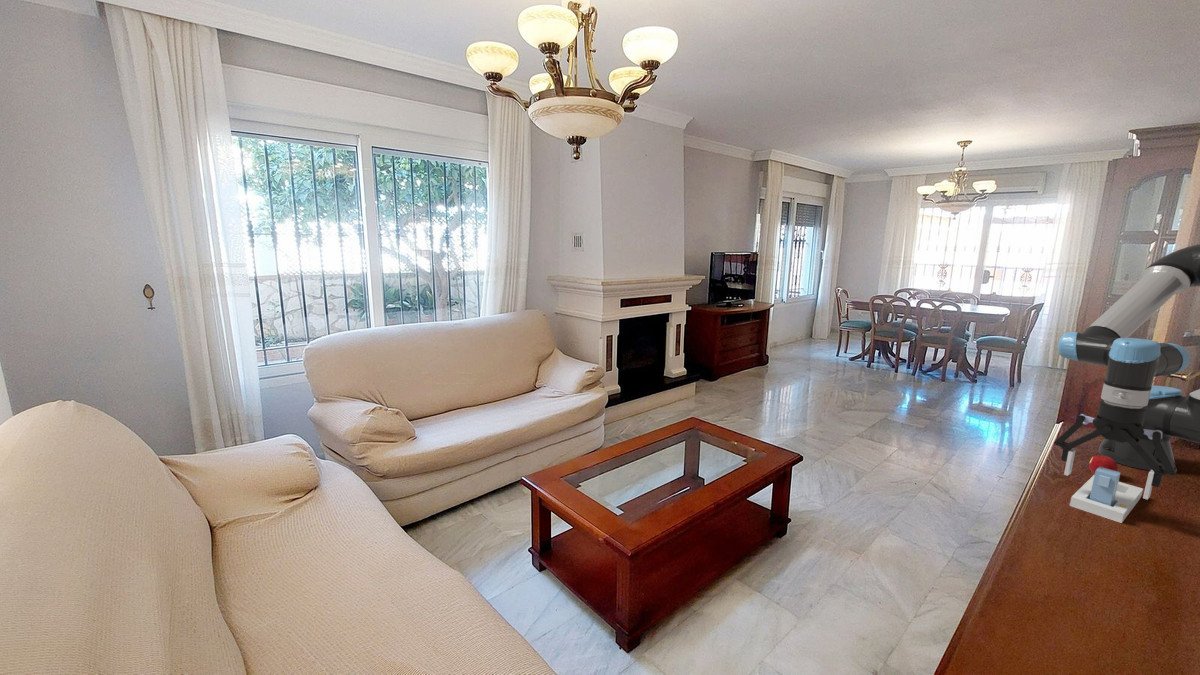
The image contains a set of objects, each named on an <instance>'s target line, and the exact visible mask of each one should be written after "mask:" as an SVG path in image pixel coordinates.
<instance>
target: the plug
mask: <svg viewBox="0 0 1200 675" xmlns="http://www.w3.org/2000/svg"><path fill="white" fill-rule="evenodd" d="M1094 475H1095V476H1094V480H1093V485H1092V490H1091V494H1090V500H1093V501H1096V502H1099V503H1102V504H1106V505H1109V506H1112V507H1113V504H1114V499H1115V495H1116V490H1117V486H1118V482H1120V476H1121V471H1118V470H1117V471H1114V470H1111V469H1107V468H1103V467H1099V468H1098V469H1097V470H1096V471H1095V474H1094Z"/></svg>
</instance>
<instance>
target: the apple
mask: <svg viewBox="0 0 1200 675" xmlns="http://www.w3.org/2000/svg"><path fill="white" fill-rule="evenodd" d="M1099 467H1103V468H1107V469H1111V470H1114V471H1118V470H1119V469H1118V463H1117V462H1115V461H1114V460H1113V459H1112V458H1110V457H1107V456H1103V455H1100V454H1098V455H1093V456H1091V459H1090V460H1089V463H1088V469H1089V470H1090V472H1091V474H1093V475H1095V471H1096V470H1097V469H1098V468H1099Z"/></svg>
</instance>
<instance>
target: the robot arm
mask: <svg viewBox="0 0 1200 675" xmlns="http://www.w3.org/2000/svg"><path fill="white" fill-rule="evenodd" d="M1192 287H1193V288H1195V287H1197V288H1198V287H1200V243H1198V244H1195V245H1194V244H1193V245H1191V246H1190V245H1189V246H1187V247H1183V248H1180V249H1178V250H1176V251H1173V252H1170V253H1168V254H1166V255H1164V256H1162V257H1161V258H1159V259H1156V260H1155V261H1153V262H1152V263H1151V264H1149V265H1148V266H1147V267H1146V268H1145V269H1144V270H1143V271H1142V272H1141V273H1140V276H1139V280H1138V281H1137V282H1135V284H1134V285H1133V286H1132V287H1131V288H1129V289H1128V291H1126V292H1125V293H1124V294H1123V295H1122V296H1121V297H1120V298H1118V300H1117V301H1115V303H1113V304H1112V305H1111V306H1110V307H1108V309H1107V310H1105V311H1104V313H1102V314H1101V315H1100V316H1099V317H1098V318H1097V319H1096V320H1095V321H1094V322H1093V323H1091V324H1090V325H1089V326H1088V327H1087V328H1086V329H1084V330H1083V331H1082V332H1080V331H1068V332H1066V333H1064V334H1062V336H1060V338H1059V340H1058V342H1057V350H1058V354H1059V355H1060V357H1061V358H1064V359H1067V360H1072V361H1075V362H1078V363H1086V364H1091V365H1098V366H1104V367H1106V372H1105V376H1104V377H1105V378H1104V381H1103V384H1102V390H1101V395H1100V398H1101V399H1102V400H1100V401H1099V404H1098V409H1097V414H1096V416H1095V417H1092V416H1089V415H1087V414H1086V413H1080V414H1079V415H1077V418H1076V420H1075V423H1074V424H1073V425H1072V426H1071V427H1069V428H1068V429H1066V431H1065V432H1063V434H1062V435H1061V436H1059V437H1058V438H1057V439H1056V440H1055V441H1054V442H1053V443H1054V445H1055V446H1058V447H1060V448H1061V449H1062V454H1061V457H1060V458H1061V461H1063V462H1066V463H1065V468H1064V471H1063V472H1064V473H1063V476H1068V477H1069V475H1071V474H1072V471H1073V465H1074V461H1075V456H1076V455H1075V454H1076V451H1077V450H1076V449H1075V448H1076V447H1078V446H1081V445H1082V444H1084V443H1086V442H1087V443H1088V442H1089V441H1091V440H1094V439H1096V438H1098V437H1100V436H1101V437H1103V440H1102V442H1101V443H1100V444H1099V447H1098V453H1099V454H1098V455H1103V456H1107V457H1110V458H1112V459H1113V460H1114V461H1115V462H1116V463H1117V464H1121V465H1124V466H1127V467H1132V468H1134V469H1140V470H1146V471H1149V472H1148V474H1147V479H1146V483H1145V486H1144V487H1145V488H1144V490H1143V494H1142V499H1145V500H1147V501H1148V500H1149V498H1150V497H1151V494H1152V490H1153V487H1156V488H1159V487H1160V486H1161V483H1162V480H1163V478H1164V475H1169V476H1174V475H1175V474H1176V473H1177V472H1178V469H1177V467H1176V464H1175V463H1176V461H1175V458H1174V453H1173V450H1172V446H1171V439H1172V437H1174V438H1179V439H1182V440H1186V441H1188V442H1193V443H1197V444H1200V388H1199V389H1196V390H1194V391H1192V392H1190V393H1189V394H1188V395H1189V396H1188V397H1187V396H1183V394H1184V393H1183V391H1182V389H1180V388H1176V387H1171V386H1163V385H1153V384H1154V379H1155V377H1162V376H1172V375H1174V374H1176V373H1179V372H1182V371H1184V370H1186V369H1187V368H1188V366H1189V365H1190V364H1191V355H1190V353H1189V352H1188V350H1187V349H1186V348H1185V347H1183V346H1181V345H1180V344H1176V343H1172V342H1170V343H1169V342H1158V341H1155V340H1150V339H1147V338H1138V337H1137V338H1136V337H1130V336H1131V335H1132V334H1134V332H1136V330H1138V329H1139V328H1140V327H1141V326H1142V325H1143V324H1145V323H1146V321H1148V320H1149V319H1150V318H1151V317H1152V316H1153V315H1154V314H1155V313H1156V312H1158V311H1159V309H1160V308H1162V307H1163V306H1164V305H1165V304H1166V303H1167V302H1168V301H1170V300H1171V298H1172V297H1174V296H1175V295H1178V294H1181V293H1184V292H1186V291H1187V290H1188V289H1189V288H1192ZM1090 423H1092V425H1093V426H1094V428H1095V430H1092V431H1091V432H1089V433H1086V434H1084V435H1081V436H1080V437H1078V438H1076V439H1074V440H1072V441H1069V442H1066V440H1068V439H1069V438H1070V437H1071V436H1072V435H1073V434H1075V432H1077V431H1078V430H1079V429H1080V428H1081V427H1082V426H1083V425H1086V426H1087V425H1088V424H1090Z"/></svg>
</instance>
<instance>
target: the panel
mask: <svg viewBox="0 0 1200 675" xmlns="http://www.w3.org/2000/svg"><path fill="white" fill-rule="evenodd" d="M1094 476H1095V474H1093V475H1092V476H1091V477H1090V479H1088V480H1087V481H1086V482H1085V483H1084V484H1083V485H1082V486H1081V487H1080V488H1079V489H1077V491H1076V492H1075V493H1074V494H1073V495H1071V497H1070V502H1069V507H1072V508H1076V509H1078V510H1081V511H1084V512H1087V513H1090V514H1093V515H1096V516H1100V517H1102V518H1106V519H1108V520H1112V521H1114V522H1116V523H1117V522H1118V523H1121V524H1122V523H1123V522H1124V521H1125V519H1127V517H1128V515H1129V514H1130V513H1131V512H1132V511H1133V509H1134V507H1135V506H1136V505H1137V503H1139V501H1140V499H1141V498H1142V497H1143V493H1144V487H1143V488H1142V487H1139V486H1136V485H1132V484H1128V483H1125V482H1121V481H1119V482H1118V486H1117V490H1116V495H1115V499H1114V504H1113V507H1112V506H1109V505H1106V504H1102V503H1099V502H1096V501H1093V500H1090V494H1091V490H1092V485H1093V480H1094Z"/></svg>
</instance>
